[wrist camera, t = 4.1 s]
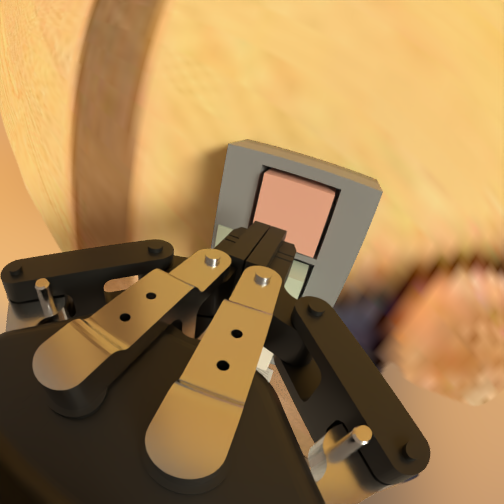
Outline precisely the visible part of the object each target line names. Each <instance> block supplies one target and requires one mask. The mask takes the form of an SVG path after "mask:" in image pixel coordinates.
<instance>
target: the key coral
mask: <svg viewBox="0 0 504 504" xmlns="http://www.w3.org/2000/svg"><path fill="white" fill-rule="evenodd" d="M335 191H336V188H335V187H332V186H329V185H327V184H324V183H321V182H318V181H315V180H312V179H308V178H305V177H302V176H299V175H296V174H293V173H289V172H286V171H283V170H279V169H276V168H271V169H269V170H268V171H266V172H265V173H264V176H263V181H262V185H261V189H260V194H259V198H258V202H257V207H256V211H255V216H254V220H253V223H254V222H255V221H259V222H262V223H265V224H268V225H271V226H274V227H277V228H280V229H283V230H286V231H287V234H286V238H285V241H286V242H289V243H291V244H294V245H295V248H296V252H298V253H301V254H303V255H306V256H309V257H312V258H313V257H314V254H315V251H316V248H317V246H318V243H319V240H320V237H321V234H322V232H323V229H324V226H325V223H326V220H327V217H328V214H329V211H330V208H331V205H332V202H333V199H334V196H335Z"/></svg>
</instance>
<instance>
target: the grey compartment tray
mask: <svg viewBox="0 0 504 504" xmlns="http://www.w3.org/2000/svg"><path fill="white" fill-rule="evenodd" d="M271 168H276V169H279V170H283V171H286V172H289V173H293V174H296V175H299V176H302V177H305V178H308V179H312V180H315V181H318V182H321V183H324V184H327V185H329V186H332V187H335V188H336V191H335V196H334V199H333V202H332V205H331V208H330V211H329V214H328V217H327V220H326V223H325V226H324V229H323V232H322V234H321V237H320V240H319V243H318V246H317V248H316V251H315V254H314V257H313V258H312V257H309V256H306V255H303V254H301V253H298V252H296V254H295V258H294V260H295V261H298V262H301V263H304V264H307V265H309V267H308V271H307V274H306V277H305V280H304V283H303V286H302V288H301V291H300V294H299V296H298V299H299V298H301V297H305V296H313V297H317V298H320V299H322V300H324V301H326V302H327V303H328V304H330V305H331V307H332V308H333V306H334V304H335V302H336V300H337V298H338V296H339V294H340V292H341V290H342V288H343V285H344V283H345V281H346V279H347V277H348V275H349V273H350V270H351V268H352V266H353V264H354V262H355V259H356V257H357V255H358V253H359V250H360V248H361V246H362V243H363V241H364V239H365V236H366V234H367V231H368V229H369V226H370V224H371V221H372V219H373V216H374V214H375V211H376V209H377V206H378V203H379V201H380V198H381V195H382V193H383V192H382V189H381V187H380V185H379V183H378V181H377V180H376V179H373V178H371V177H368V176H366V175H363V174H360V173H357V172H355V171H352V170H349V169H346V168H344V167H341V166H338V165H335V164H332V163H329V162H326V161H323V160H320V159H317V158H313V157H310V156H307V155H304V154H300V153H297V152H293V151H290V150H287V149H283V148H279V147H276V146H272V145H268V144H264V143H260V142H256V141H252V140H248V139H247V140H243V141H238V142H234V143H229V144H228V149H227V155H226V160H225V166H224V171H223V177H222V183H221V188H220V194H219V200H218V206H217V212H216V219H215V225H214V231H213V238H212V245H211V249H214V248H215V247H216V246H217V245H218V244H219V243H220V242H221V241H222V240H223V239H224V238H225V237H226V236H227V235H228V234H229V233H230V232H231V231H232V230H233V229H236V228H239V227H244V228H247V229H248V228H249V227H250V226H251V225H252V224H253V220H254V216H255V211H256V207H257V202H258V198H259V194H260V189H261V185H262V181H263V176H264V173H265V172H266V171H268V170H269V169H271ZM298 299H297V300H298ZM270 363H271V364H274V365H275V363H274V355H273V357H272V359H271V361H270Z"/></svg>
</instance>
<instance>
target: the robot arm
mask: <svg viewBox="0 0 504 504" xmlns="http://www.w3.org/2000/svg"><path fill="white" fill-rule="evenodd" d="M286 234H287V231H286V230H283V229H280V228H277V227H274V226H271V225H268V224H265V223H262V222H259V221H255V222H254V223H253V224H252V225H251V226H250V227H249V228H248V229H247V228H244V227H239V228H236V229H233V230H232V231H231V232H230V233H229V234H228V235H227V236H226V237H225V238H224V239H223V240H222V241H221V242H220V243H219V244H218V245H217V246H216V247H215V248H214V249H202V250H199V251H197V252H196V253H195V254H193V255H192V256H191V257H189V258H186V257H180V256H174V255H173V254H174V248H173V246H172V245H171V244H170V243H168V242H166V241H163V240H145V241H138V242H130V243H123V244H116V245H109V246H102V247H95V248H89V249H82V250H75V251H69V252H62V253H56V254H50V255H44V256H38V257H32V258H26V259H20V260H15V261H13V262H11V263H9V264H8V265H6V266H5V267H4V268H3V270H2V272H1V279H2V282H3V285H4V288H5V291H6V293H7V298H8V301H9V306H8V314H7V324H6V332H4V333H2V334H0V504H358V503H360V502H361V501H363V500H365V499H366V498H368V497H369V496H371V495H373V494H375V493H377V492H379V491H382V490H384V489H386V488H389V487H391V486H393V485H396V484H398V483H400V482H402V481H404V480H406V479H408V478H410V477H412V476H414V475H416V474H418V473H420V472H421V471H423V470H424V469H425V468H426V466H427V464H428V462H429V459H430V448H429V445H428V442H427V440H426V439H425V438H424V436H423V434H422V433H421V431H420V430H419V428H418V427H417V426H416V424H415V423H414V421H413V419H412V418H411V416H410V415H409V413H408V412H407V411H406V409H405V408H404V406H403V405H402V403H401V402H400V401H399V399H398V398H397V396H396V395H395V393H394V392H393V390H392V389H391V388H390V386H389V385H388V383H387V382H386V381H385V379H384V378H383V376H382V375H381V373H380V372H379V371H378V369H377V368H376V366H375V365H374V364H373V362H372V361H371V359H370V358H369V357H368V355H367V354H366V352H365V351H364V350H363V348H362V347H361V346H360V344H359V343H358V341H357V340H356V339H355V337H354V336H353V335H352V333H351V332H350V331H349V329H348V328H347V327H346V325H345V324H344V323H343V321H342V320H341V318H340V317H339V316H338V314H337V313H336V312H335V310H334V309H333V308H332V307H331V305H330V304H328V303H327V302H326V301H324V300H322V299H320V298H317V297H313V296H305V297H301V298H299V299H298V300H297V299H296V298H294V297H293V296H291V295H290V294H289V293H288V292H287V291H286V289H285V287H284V286H285V283H286V281H287V279H288V276H289V273H290V270H291V267H292V264H293V261H294V258H295V254H296V248H295V245H294V244H291V243H289V242H286V241H285V238H286ZM135 275H138V278H139V281H137V282H136V283H135V284H133V285H132V286H130V287H129V288H128V289H126V290H121V291H115V292H105V291H104V285H105V283H106V282H107V281H109V280H112V279H117V278H123V277H129V276H135ZM263 347H264V348H266V349H267V350H269V351H270V352H272V353H273V354H274V363H275V365H276V367H277V369H278V371H279V373H280V375H281V377H282V379H283V381H284V383H285V385H286V387H287V390H288V392H289V394H290V396H291V398H292V400H293V402H294V404H295V406H296V408H297V410H298V412H299V414H300V415H301V417H302V419H303V421H304V423H305V425H306V427H307V429H308V431H309V433H310V435H311V437H312V439H313V441H314V444H313V446H312V447H311V448H310V451H309V454H308V459H307V458H306V457H304V455H303V453H302V451H301V449H300V446H299V444H298V442H297V440H296V437H295V435H294V433H293V430H292V428H291V426H290V423H289V421H288V419H287V416H286V414H285V412H284V409H283V407H282V405H281V402H280V400H279V398H278V396H277V393H276V392H275V390H274V388H273V387H272V385H271V384H270V383H269V382H268V380H267V379H266V378H265V377H264V376H263V375H262V374H261V373H259V372H258V371H257V370H256V367H257V364H258V361H259V358H260V355H261V352H262V349H263ZM309 467H310V468H311V471H310V469H309Z"/></svg>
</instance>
